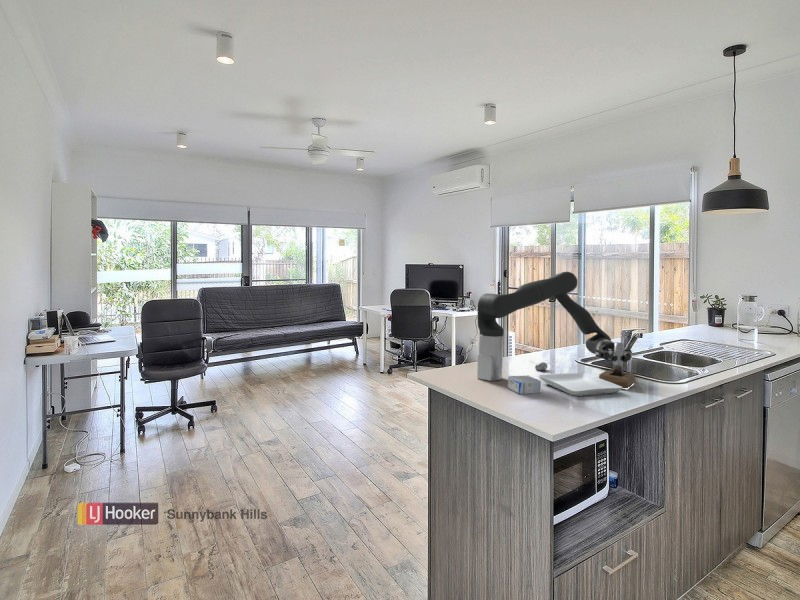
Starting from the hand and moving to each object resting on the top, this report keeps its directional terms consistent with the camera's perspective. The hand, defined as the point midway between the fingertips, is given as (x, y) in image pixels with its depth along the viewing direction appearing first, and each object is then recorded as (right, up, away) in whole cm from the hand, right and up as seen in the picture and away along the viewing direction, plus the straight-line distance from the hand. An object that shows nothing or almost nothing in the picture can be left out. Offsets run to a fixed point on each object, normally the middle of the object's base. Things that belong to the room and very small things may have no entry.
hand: (620, 359), depth 168 cm
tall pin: (0, -7, +3) cm, 8 cm away
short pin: (-23, -7, +23) cm, 33 cm away
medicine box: (-33, -8, -5) cm, 35 cm away
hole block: (0, -10, +4) cm, 11 cm away
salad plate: (-16, -11, -2) cm, 20 cm away
